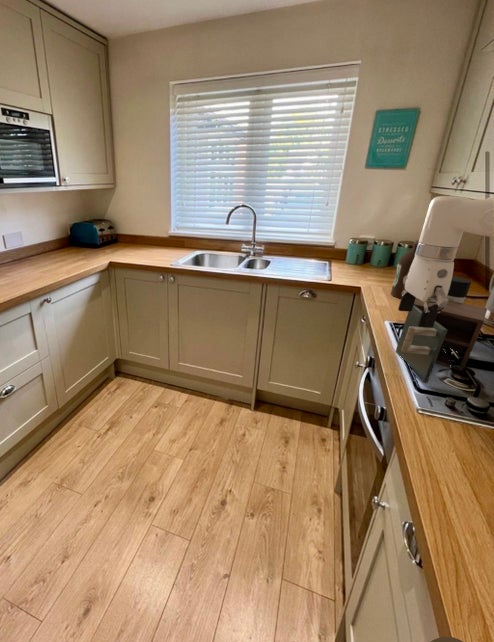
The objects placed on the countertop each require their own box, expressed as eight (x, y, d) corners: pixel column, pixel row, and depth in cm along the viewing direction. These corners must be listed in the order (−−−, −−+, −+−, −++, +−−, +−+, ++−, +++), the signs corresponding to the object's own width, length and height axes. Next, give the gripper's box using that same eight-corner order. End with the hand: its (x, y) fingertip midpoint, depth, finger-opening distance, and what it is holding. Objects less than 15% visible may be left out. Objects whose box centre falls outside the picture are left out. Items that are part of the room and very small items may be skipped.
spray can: (453, 340, 110) (476, 284, 102) (429, 336, 112) (450, 280, 104) (446, 332, 116) (467, 277, 108) (424, 328, 118) (443, 275, 110)
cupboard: (462, 372, 92) (484, 320, 86) (397, 351, 102) (413, 303, 96) (465, 356, 101) (485, 308, 94) (405, 338, 110) (420, 293, 104)
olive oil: (416, 295, 150) (434, 240, 140) (416, 302, 141) (435, 245, 132) (389, 290, 155) (405, 237, 145) (388, 297, 147) (404, 241, 137)
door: (397, 380, 88) (416, 327, 82) (373, 349, 102) (387, 303, 96) (427, 383, 87) (447, 330, 81) (398, 351, 101) (414, 305, 95)
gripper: (479, 262, 68) (451, 335, 75) (431, 245, 84) (412, 306, 91) (440, 260, 69) (416, 332, 76) (400, 243, 85) (383, 304, 92)
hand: (414, 318), depth 83 cm, fingers open, 9 cm apart
